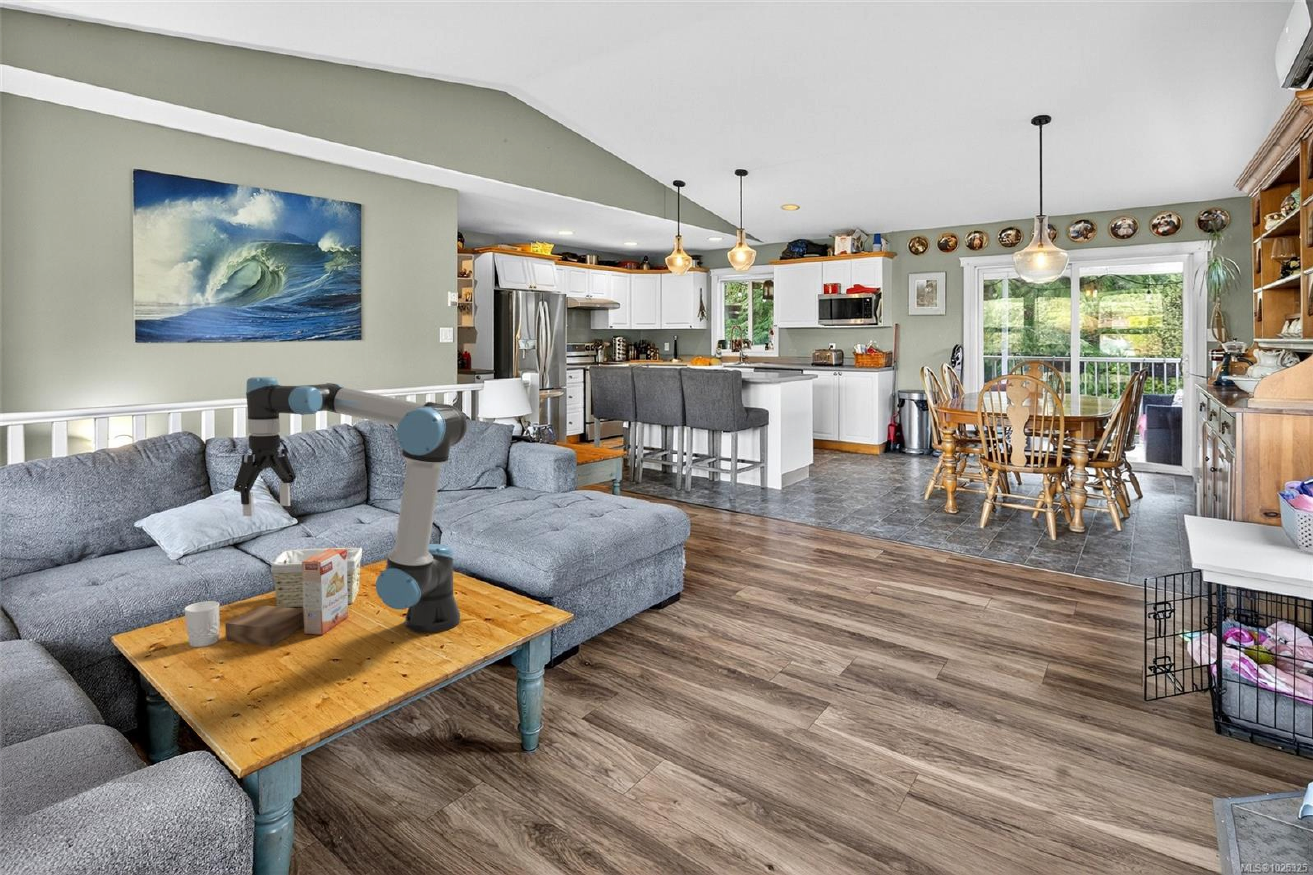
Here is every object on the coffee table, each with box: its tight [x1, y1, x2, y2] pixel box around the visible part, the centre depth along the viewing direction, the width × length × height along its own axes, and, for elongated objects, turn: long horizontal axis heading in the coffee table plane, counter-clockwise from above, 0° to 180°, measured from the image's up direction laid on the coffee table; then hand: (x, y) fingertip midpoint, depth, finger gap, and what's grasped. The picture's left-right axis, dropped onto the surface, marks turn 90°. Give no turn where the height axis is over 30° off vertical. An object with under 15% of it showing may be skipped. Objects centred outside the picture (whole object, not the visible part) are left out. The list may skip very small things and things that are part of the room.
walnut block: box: [224, 604, 304, 647], centre depth 197 cm, size 14×14×5 cm
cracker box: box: [302, 547, 349, 636], centre depth 202 cm, size 14×6×21 cm, turn 175°
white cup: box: [184, 600, 220, 648], centre depth 191 cm, size 8×8×10 cm
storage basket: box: [270, 547, 363, 608], centre depth 224 cm, size 24×16×15 cm
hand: (267, 510), depth 197 cm, fingers open, 13 cm apart
